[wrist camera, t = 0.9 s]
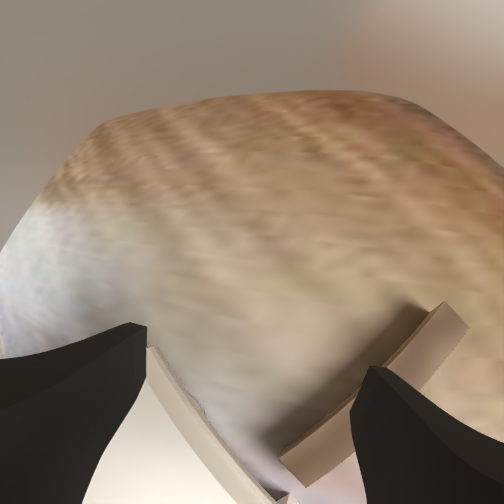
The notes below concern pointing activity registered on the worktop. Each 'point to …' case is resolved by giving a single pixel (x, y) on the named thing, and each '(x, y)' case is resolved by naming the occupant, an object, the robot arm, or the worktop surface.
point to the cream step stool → (171, 453)
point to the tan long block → (338, 421)
